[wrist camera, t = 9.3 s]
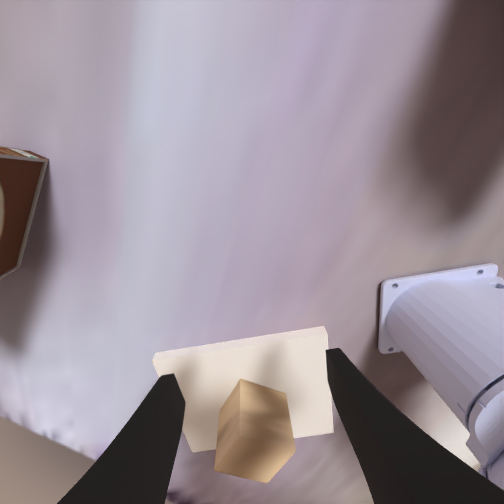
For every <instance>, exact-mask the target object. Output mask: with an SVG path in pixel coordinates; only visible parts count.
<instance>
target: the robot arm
mask: <svg viewBox="0 0 504 504" xmlns="http://www.w3.org/2000/svg"><path fill="white" fill-rule="evenodd" d="M497 271H498V266H497V265H495V264H492V263H488V264H482V265H476V266H470V267H464V268H458V269H452V270H445V271H439V272H433V273H427V274H421V275H415V276H409V277H402V278H396V279H390V280H386V281H384V282H383V283H382V284H381V295H380V319H379V343H378V349H379V351H380V352H381V353H382V354H388V353H395V352H401V351H403V352H404V353H405V354H406V355H407V357H408V358H409V359H410V360H411V362H412V363H413V364H414V365H415V366H416V368H417V369H418V370H419V371H420V373H421V374H422V375H423V376H424V377H425V379H426V380H427V381H428V382H429V384H430V385H431V386H432V387H433V388H434V390H435V391H436V392H437V393H438V395H439V396H440V397H441V398H442V399H443V401H444V402H445V403H446V404H447V406H448V407H449V408H450V409H451V411H452V412H453V413H454V414H455V415H456V417H457V418H458V419H459V420H460V422H461V423H462V424H463V425H464V426H465V428H466V429H467V430H468V431H469V433H470V437H469V439H468V440H467V442H466V445H467V447H468V448H469V449H470V451H471V452H472V453H473V455H474V456H475V457H476V458H477V460H478V461H479V462H480V464H481V465H480V467H479V469H478V472H477V471H475V470H474V469H473V468H471V467H470V466H469V465H467V464H466V463H464V462H463V461H462V460H460V459H459V458H458V457H456V456H455V455H454V454H452V453H451V452H450V451H448V450H447V449H446V448H444V447H443V446H442V445H440V444H439V443H438V442H436V441H435V440H434V439H433V438H431V437H430V436H429V435H428V434H426V433H425V432H424V431H423V430H422V429H420V428H419V427H418V426H417V425H416V424H414V423H413V422H412V421H411V420H410V419H409V418H407V417H406V416H405V415H404V414H403V413H402V412H401V411H400V410H398V409H397V408H396V407H395V406H394V405H393V404H392V403H391V402H390V401H389V400H388V399H387V398H386V397H385V396H383V395H382V394H381V393H380V392H379V391H378V390H377V389H376V388H375V387H374V386H373V385H372V384H371V383H370V382H369V380H368V379H367V378H366V377H365V376H364V375H363V374H362V373H361V372H360V371H359V370H358V369H357V368H356V367H355V365H354V364H353V363H352V362H351V361H350V360H349V359H348V357H347V356H346V355H345V354H344V353H343V351H342V350H341V349H340V348H335V349H328V350H325V351H326V365H327V380H328V384H329V387H330V391H331V394H332V397H333V400H334V403H335V406H336V408H337V411H338V413H339V416H340V418H341V420H342V423H343V425H344V427H345V430H346V432H347V434H348V437H349V439H350V441H351V444H352V446H353V448H354V451H355V453H356V455H357V458H358V460H359V463H360V465H361V468H362V470H363V473H364V475H365V478H366V481H367V484H368V487H369V489H370V492H371V495H372V498H373V501H374V504H504V279H502V278H500V277H498V276H496V275H497ZM393 284H395V285H394V286H392V285H393ZM185 405H186V402H185V399H184V397H183V394H182V392H181V390H180V387H179V385H178V382H177V380H176V377H175V375H174V373H173V374H166V375H161V377H160V378H159V379H158V381H157V382H156V383H155V385H154V386H153V388H152V389H151V390H150V392H149V393H148V395H147V396H146V397H145V399H144V400H143V402H142V403H141V404H140V406H139V407H138V409H137V410H136V411H135V413H134V414H133V415H132V417H131V418H130V419H129V421H128V422H127V423H126V425H125V426H124V427H123V429H122V430H121V431H120V432H119V434H118V435H117V436H116V438H115V439H114V440H113V441H112V443H111V444H110V445H109V446H108V448H107V449H106V450H105V451H104V453H103V454H102V455H101V456H100V457H99V458H98V460H97V461H96V462H95V463H94V464H93V466H92V467H91V468H90V469H89V470H88V471H87V472H86V474H85V475H84V476H83V477H82V478H81V479H80V480H79V481H78V482H77V483H76V484H75V485H74V487H73V488H72V489H71V490H70V491H69V492H68V493H67V494H66V495H65V496H64V497H63V498H62V499H61V500H60V501H59V502H58V503H57V504H164V503H165V499H166V494H167V489H168V485H169V481H170V477H171V473H172V469H173V465H174V461H175V457H176V453H177V449H178V444H179V440H180V436H181V432H182V427H183V420H184V413H185Z"/></svg>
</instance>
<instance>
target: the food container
mask: <svg viewBox="0 0 504 504" xmlns="http://www.w3.org/2000/svg"><path fill="white" fill-rule="evenodd" d="M48 161H49V159H47V158H45V157H42V156H40V155H38V154H35V153H33V152H31V151H26V150H20V149H14V148H8V147H2V146H0V279H2V278H3V277H5V276H7V275H9V274H10V273H12V272H14V271H16V270H17V269H19V268H20V266H21V262H22V259H23V255H24V251H25V247H26V244H27V240H28V236H29V232H30V229H31V225H32V221H33V217H34V214H35V210H36V206H37V202H38V199H39V195H40V191H41V187H42V184H43V180H44V176H45V172H46V169H47V165H48Z"/></svg>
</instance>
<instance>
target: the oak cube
mask: <svg viewBox="0 0 504 504" xmlns="http://www.w3.org/2000/svg"><path fill="white" fill-rule="evenodd" d="M295 452H296V448H295V442H294V437H293V431H292V425H291V420H290V414H289V408H288V403H287V397H286V393H283V392H280V391H277V390H274V389H271V388H268V387H265V386H262V385H259V384H256V383H253V382H250V381H247V380H244V379H241V378H240V380H239V381H238V383H237V385H236V386H235V388H234V389H233V391H232V392H231V394H230V395H229V397H228V399H227V400H226V402H225V403H224V405H223V406H222V408H221V410H220V413H219V423H218V434H217V444H216V455H215V465H214V471H217V472H221V473H226V474H230V475H234V476H238V477H242V478H247V479H251V480H255V481H259V482H263V483H268V482H269V481H270V480H271V479H272V477H273V476H274V475H275V474H276V473H277V472H278V471H279V470H280V468H281V467H282V466H283V465H284V464H285V463H286V462H287V461H288V459H289V458H290V457H291V456H292V455H293V454H294V453H295Z"/></svg>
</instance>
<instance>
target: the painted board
mask: <svg viewBox="0 0 504 504" xmlns="http://www.w3.org/2000/svg"><path fill="white" fill-rule="evenodd" d="M325 350H328V336H327V332H326V330H325V327H324V326H320V327H314V328H308V329H301V330H295V331H289V332H282V333H276V334H270V335H263V336H257V337H251V338H244V339H238V340H232V341H225V342H219V343H213V344H206V345H200V346H194V347H187V348H181V349H175V350H168V351H162V352H156V353H155V355H154V357H153V360H152V362H153V364H154V367H155V369H156V371H157V374H158V376H159V378H160V377H161V375H166V374H173V373H174V375H175V377H176V380H177V382H178V385H179V387H180V390H181V392H182V394H183V397H184V399H185V402H186V405H185V413H184V420H183V427H182V430H183V433H184V435H185V437H186V439H187V442H188V444H189V446H190V449H191V451H192V453H194V452H201V451H208V450H215V449H216V444H217V434H218V423H219V413H220V410H221V408H222V406H223V405H224V403H225V402H226V400H227V399H228V397H229V395H230V394H231V392H232V391H233V389H234V388H235V386H236V385H237V383H238V381H239V380H240V378H241V379H244V380H247V381H250V382H253V383H256V384H259V385H262V386H265V387H268V388H271V389H274V390H277V391H280V392H283V393H286V397H287V403H288V408H289V414H290V420H291V425H292V431H293V437H294V438H299V437H306V436H313V435H320V434H327V433H334V432H333V416H332V400H331V391H330V387H329V384H328V380H327V365H326V351H325Z"/></svg>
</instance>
